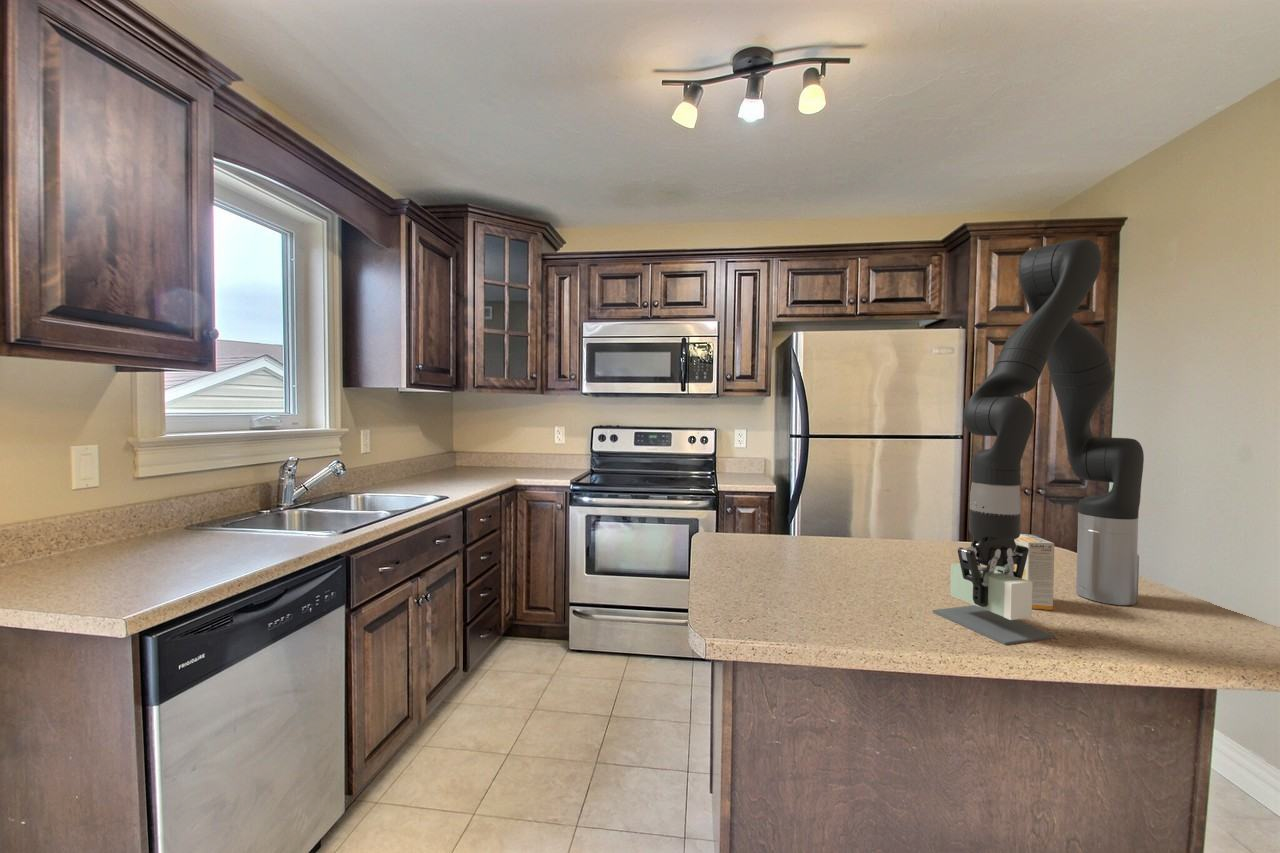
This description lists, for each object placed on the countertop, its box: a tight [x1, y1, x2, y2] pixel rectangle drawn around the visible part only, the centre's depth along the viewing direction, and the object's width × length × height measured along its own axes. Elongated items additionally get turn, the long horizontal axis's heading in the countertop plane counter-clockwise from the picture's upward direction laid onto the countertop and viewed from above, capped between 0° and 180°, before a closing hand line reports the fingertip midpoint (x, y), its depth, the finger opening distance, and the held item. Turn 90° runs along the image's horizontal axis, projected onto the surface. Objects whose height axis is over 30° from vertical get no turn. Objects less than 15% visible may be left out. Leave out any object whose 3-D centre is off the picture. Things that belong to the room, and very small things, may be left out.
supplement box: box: [1013, 533, 1055, 611], centre depth 104 cm, size 8×5×13 cm, turn 168°
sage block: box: [949, 562, 1033, 620], centre depth 93 cm, size 5×6×12 cm
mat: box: [932, 604, 1056, 646], centre depth 93 cm, size 11×14×1 cm
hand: (991, 603), depth 92 cm, fingers closed on sage block, 4 cm apart
